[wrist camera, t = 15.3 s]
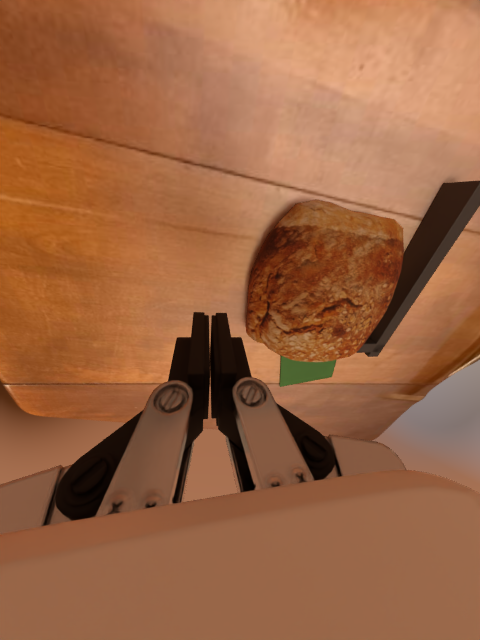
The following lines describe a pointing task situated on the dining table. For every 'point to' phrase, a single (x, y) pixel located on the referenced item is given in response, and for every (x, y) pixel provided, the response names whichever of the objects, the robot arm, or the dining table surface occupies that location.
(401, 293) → the corner stop
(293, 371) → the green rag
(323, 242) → the bread
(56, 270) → the dining table surface
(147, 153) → the dining table surface
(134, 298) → the dining table surface
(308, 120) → the dining table surface
